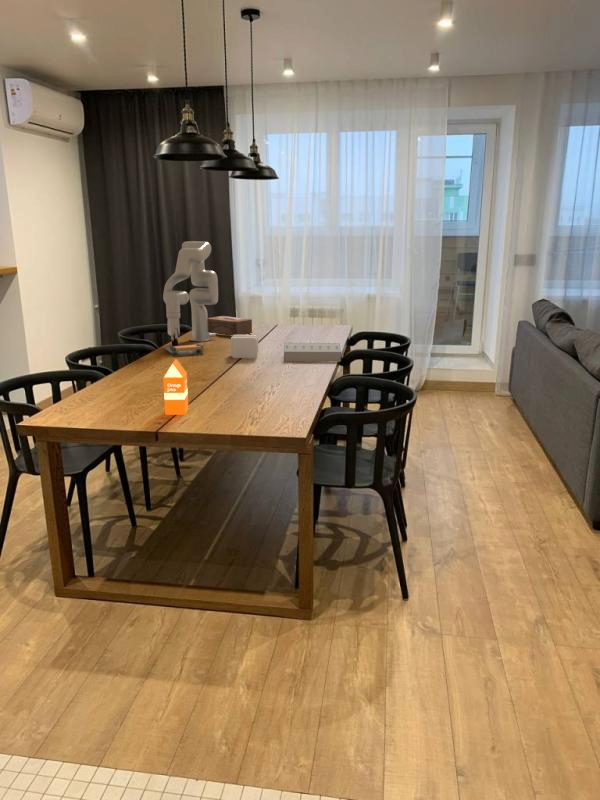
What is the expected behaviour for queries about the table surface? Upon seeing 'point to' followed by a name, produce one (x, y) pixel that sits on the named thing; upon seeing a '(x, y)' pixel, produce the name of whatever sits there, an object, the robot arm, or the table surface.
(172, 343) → the robot arm
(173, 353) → the label panel
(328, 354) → the warehouse
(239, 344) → the cable organizer
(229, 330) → the tissue box cover
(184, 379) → the orange juice
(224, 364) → the table surface
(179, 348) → the swing arm
